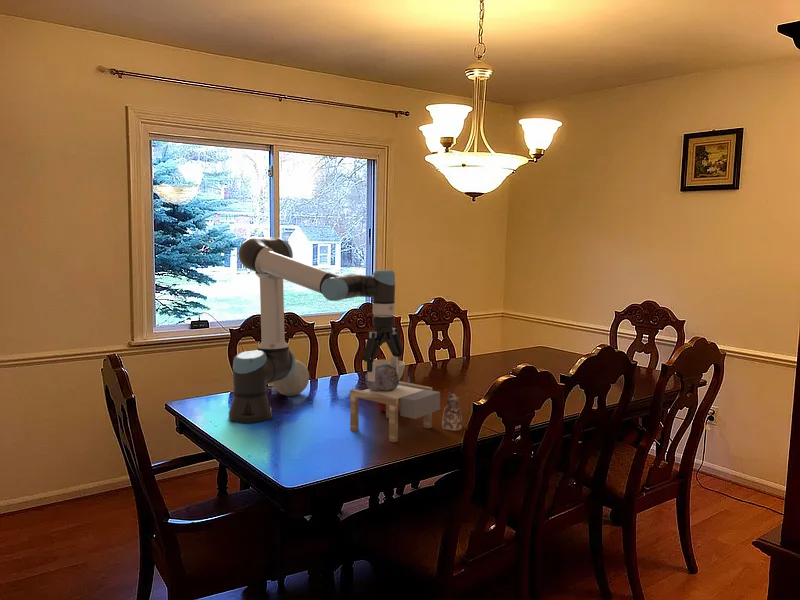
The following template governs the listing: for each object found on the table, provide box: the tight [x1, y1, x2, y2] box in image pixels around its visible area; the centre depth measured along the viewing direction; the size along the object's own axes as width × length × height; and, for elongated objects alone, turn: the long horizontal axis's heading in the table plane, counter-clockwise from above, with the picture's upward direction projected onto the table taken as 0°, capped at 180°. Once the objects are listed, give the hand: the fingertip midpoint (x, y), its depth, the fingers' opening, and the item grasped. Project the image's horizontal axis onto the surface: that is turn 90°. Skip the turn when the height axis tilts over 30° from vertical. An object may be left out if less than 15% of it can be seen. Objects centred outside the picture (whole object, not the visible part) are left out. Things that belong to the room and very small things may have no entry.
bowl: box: [373, 358, 406, 381], centre depth 274 cm, size 16×16×10 cm
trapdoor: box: [362, 385, 441, 420], centre depth 210 cm, size 16×23×6 cm
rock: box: [365, 364, 400, 390], centre depth 214 cm, size 11×10×10 cm
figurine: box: [441, 391, 463, 432], centre depth 216 cm, size 7×7×12 cm
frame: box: [349, 380, 433, 443], centre depth 213 cm, size 21×19×14 cm
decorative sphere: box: [272, 359, 310, 397], centre depth 255 cm, size 15×15×15 cm
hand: (382, 377), depth 214 cm, fingers open, 12 cm apart
